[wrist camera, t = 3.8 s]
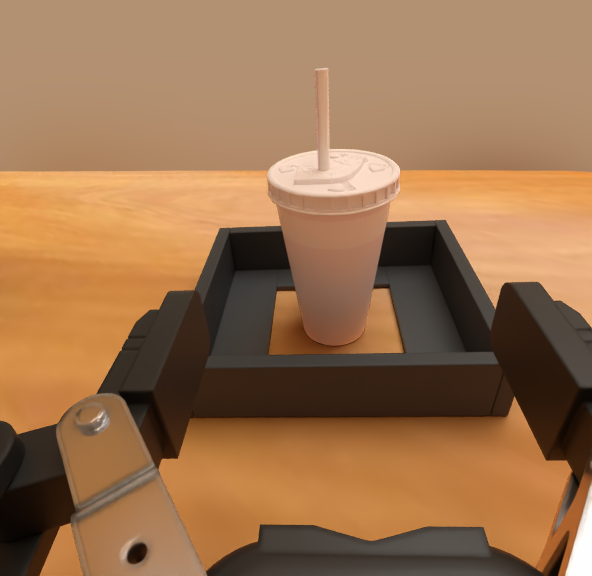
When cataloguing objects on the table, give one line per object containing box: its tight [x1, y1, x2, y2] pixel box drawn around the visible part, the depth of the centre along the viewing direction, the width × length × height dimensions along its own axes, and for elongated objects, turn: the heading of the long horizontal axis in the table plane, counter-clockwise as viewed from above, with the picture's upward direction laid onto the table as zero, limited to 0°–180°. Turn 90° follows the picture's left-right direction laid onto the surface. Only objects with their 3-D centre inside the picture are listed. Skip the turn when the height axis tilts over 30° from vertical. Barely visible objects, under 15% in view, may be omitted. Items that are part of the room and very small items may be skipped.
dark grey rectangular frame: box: [190, 220, 514, 417], centre depth 25 cm, size 16×14×3 cm
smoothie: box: [267, 68, 400, 346], centre depth 22 cm, size 6×6×14 cm
